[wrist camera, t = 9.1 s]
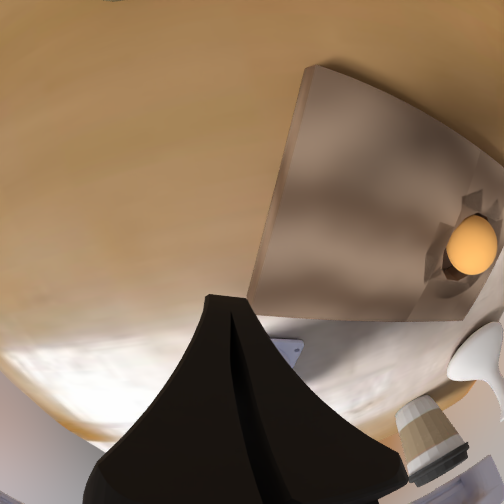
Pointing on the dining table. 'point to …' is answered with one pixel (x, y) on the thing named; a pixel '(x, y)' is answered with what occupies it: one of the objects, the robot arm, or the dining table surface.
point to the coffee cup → (428, 440)
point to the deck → (371, 210)
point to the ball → (472, 246)
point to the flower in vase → (481, 360)
